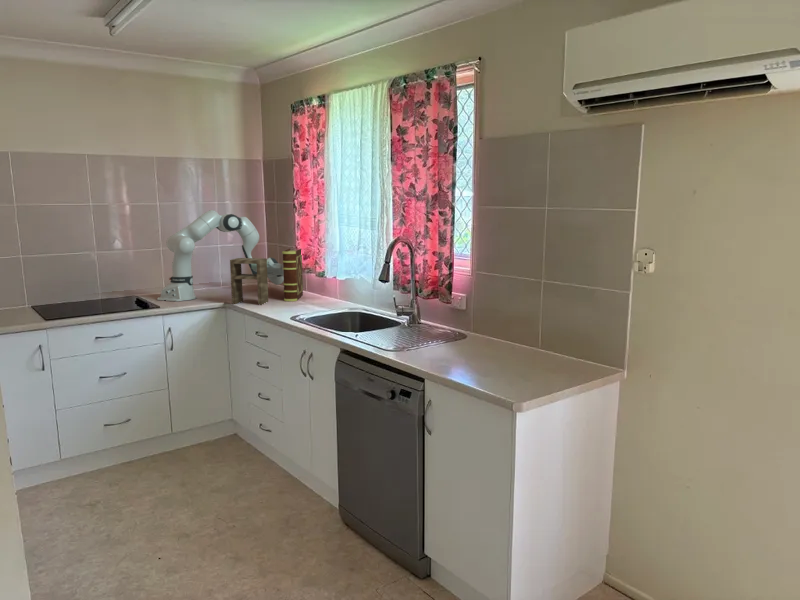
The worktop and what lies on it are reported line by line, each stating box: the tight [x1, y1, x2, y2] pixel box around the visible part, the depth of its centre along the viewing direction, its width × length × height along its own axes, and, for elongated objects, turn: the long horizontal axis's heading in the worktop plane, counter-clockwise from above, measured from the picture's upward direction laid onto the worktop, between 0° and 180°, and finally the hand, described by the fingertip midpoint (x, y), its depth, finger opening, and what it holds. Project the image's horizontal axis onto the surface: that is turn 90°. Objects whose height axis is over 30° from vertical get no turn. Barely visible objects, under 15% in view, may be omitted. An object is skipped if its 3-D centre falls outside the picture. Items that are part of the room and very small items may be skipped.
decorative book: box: [281, 248, 304, 302], centre depth 363 cm, size 22×8×30 cm, turn 179°
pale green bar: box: [251, 261, 269, 269], centre depth 364 cm, size 4×19×3 cm, turn 172°
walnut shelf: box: [229, 257, 269, 306], centre depth 347 cm, size 18×11×26 cm, turn 82°
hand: (264, 262), depth 370 cm, fingers closed on pale green bar, 4 cm apart
